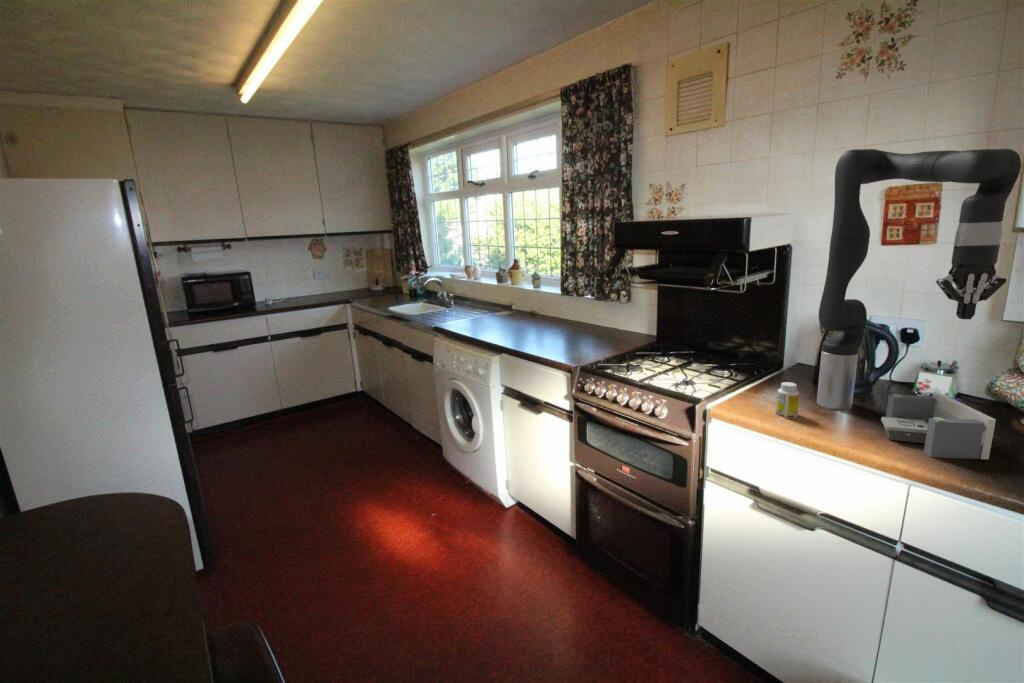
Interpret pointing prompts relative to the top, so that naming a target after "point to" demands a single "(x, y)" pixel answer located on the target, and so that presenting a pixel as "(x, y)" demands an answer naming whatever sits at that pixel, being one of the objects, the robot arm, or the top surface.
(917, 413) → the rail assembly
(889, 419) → the electrical switch
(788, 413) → the supplement bottle
